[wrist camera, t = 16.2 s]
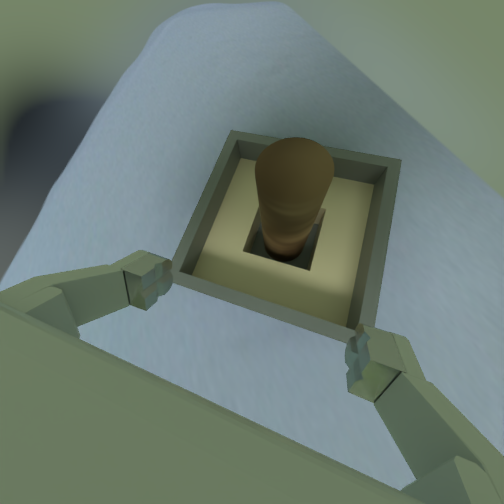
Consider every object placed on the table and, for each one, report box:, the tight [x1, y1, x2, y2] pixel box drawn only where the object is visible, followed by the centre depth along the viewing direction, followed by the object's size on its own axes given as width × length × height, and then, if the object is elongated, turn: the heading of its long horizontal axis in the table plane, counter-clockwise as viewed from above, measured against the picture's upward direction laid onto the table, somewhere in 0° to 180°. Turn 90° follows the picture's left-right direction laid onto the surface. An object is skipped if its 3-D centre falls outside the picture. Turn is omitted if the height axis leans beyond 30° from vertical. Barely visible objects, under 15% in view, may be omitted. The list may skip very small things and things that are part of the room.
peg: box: [255, 137, 334, 262], centre depth 17 cm, size 4×4×12 cm
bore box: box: [170, 130, 402, 343], centre depth 20 cm, size 16×16×7 cm
